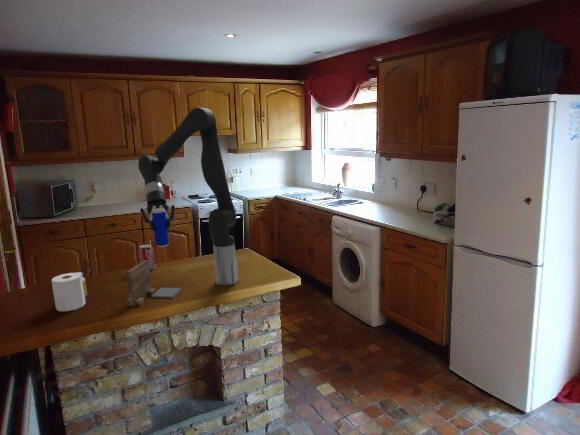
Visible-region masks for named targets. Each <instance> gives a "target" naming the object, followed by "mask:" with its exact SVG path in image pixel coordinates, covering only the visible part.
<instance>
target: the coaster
mask: <svg viewBox="0 0 580 435" xmlns="http://www.w3.org/2000/svg"><path fill="white" fill-rule="evenodd" d="M181 291H182V287H160V288H159V289H158V290H156V292H155V293H154V294H153V295H152V296H151V298H153V299H154V298H155V299H174V298H175V297H176V296H177V295H178V294H179V293H180V292H181Z"/></svg>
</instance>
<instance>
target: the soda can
mask: <svg viewBox="0 0 580 435" xmlns="http://www.w3.org/2000/svg"><path fill="white" fill-rule="evenodd" d="M138 259H139V263H141V262H142V261H144V260H149V268H150V272H151V271H153V270H154V269H155V268H156V258H155V250H154V246H153V245H152V244H150V243H148V244H141V245H139V248H138Z"/></svg>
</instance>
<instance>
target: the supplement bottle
mask: <svg viewBox="0 0 580 435" xmlns="http://www.w3.org/2000/svg"><path fill="white" fill-rule="evenodd" d="M76 273H79V274H81V275H82V281H83V288H84V295H85V297H86V296H87V295H88V290H87V283H86V279H85V277H83V272H81V271H80V272H79V271H78V272H76Z"/></svg>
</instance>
